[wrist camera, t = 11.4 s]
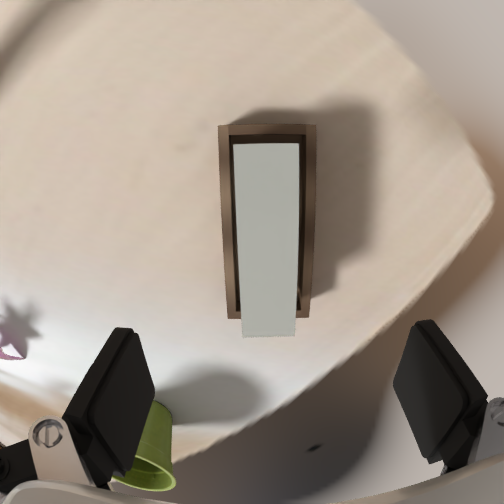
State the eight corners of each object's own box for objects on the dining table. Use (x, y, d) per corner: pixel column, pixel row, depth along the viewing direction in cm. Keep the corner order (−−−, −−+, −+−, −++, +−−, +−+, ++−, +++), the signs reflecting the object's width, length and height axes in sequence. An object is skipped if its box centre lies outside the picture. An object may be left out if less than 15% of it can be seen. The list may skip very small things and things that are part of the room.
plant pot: (180, 441, 41) (168, 498, 30) (111, 416, 39) (89, 469, 29) (197, 403, 37) (184, 471, 26) (115, 373, 35) (84, 434, 25)
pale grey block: (240, 143, 24) (233, 144, 18) (287, 142, 24) (298, 143, 18) (245, 293, 29) (242, 337, 23) (287, 293, 29) (294, 336, 23)
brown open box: (222, 127, 25) (217, 125, 22) (309, 126, 24) (316, 124, 22) (230, 302, 31) (227, 318, 28) (304, 301, 30) (308, 317, 28)
